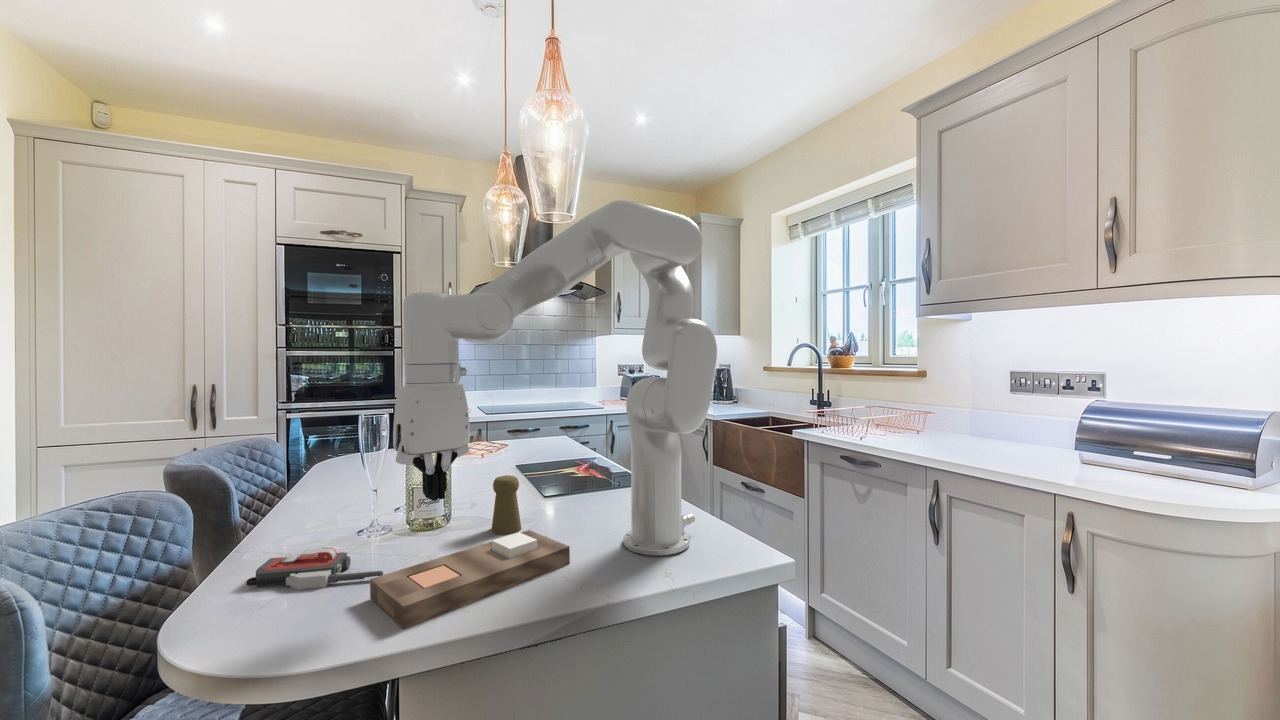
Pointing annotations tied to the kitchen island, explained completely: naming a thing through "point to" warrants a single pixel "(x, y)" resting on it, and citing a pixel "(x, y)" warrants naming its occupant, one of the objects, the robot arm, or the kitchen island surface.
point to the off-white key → (514, 545)
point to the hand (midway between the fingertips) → (434, 497)
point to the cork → (506, 506)
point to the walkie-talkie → (307, 570)
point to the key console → (463, 579)
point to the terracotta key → (433, 577)
